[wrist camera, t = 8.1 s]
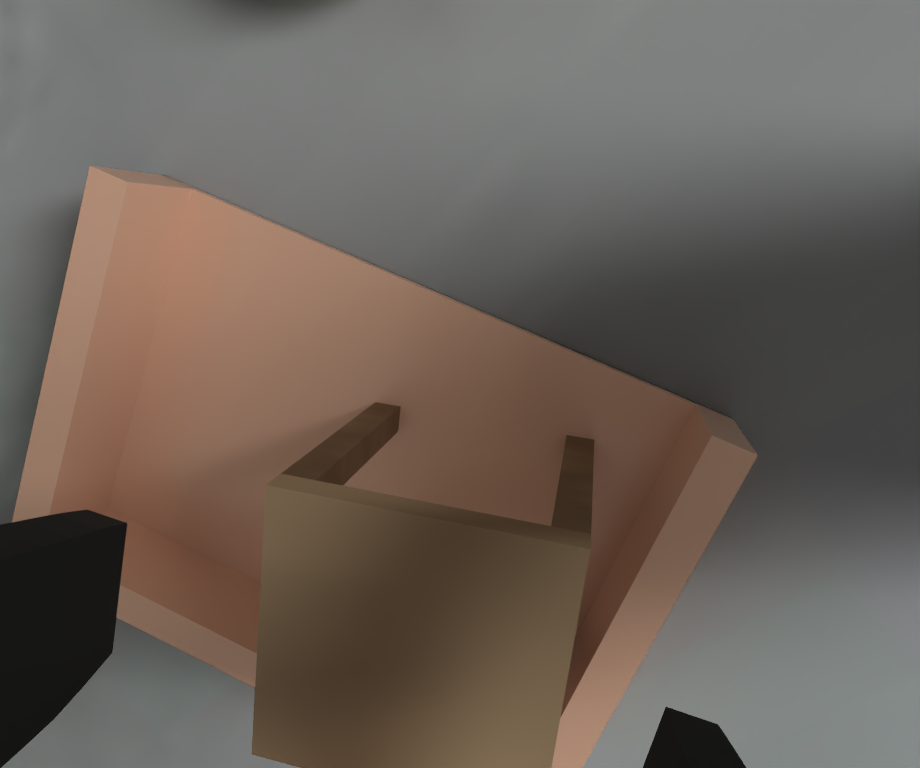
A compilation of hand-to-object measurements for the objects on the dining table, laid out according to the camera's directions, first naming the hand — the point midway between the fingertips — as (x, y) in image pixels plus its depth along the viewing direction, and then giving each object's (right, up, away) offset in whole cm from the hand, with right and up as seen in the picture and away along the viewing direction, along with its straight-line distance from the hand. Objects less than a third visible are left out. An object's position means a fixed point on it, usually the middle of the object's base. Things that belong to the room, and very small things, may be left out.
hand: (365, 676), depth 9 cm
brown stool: (+1, 0, +10) cm, 10 cm away
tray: (-1, +1, +10) cm, 11 cm away
